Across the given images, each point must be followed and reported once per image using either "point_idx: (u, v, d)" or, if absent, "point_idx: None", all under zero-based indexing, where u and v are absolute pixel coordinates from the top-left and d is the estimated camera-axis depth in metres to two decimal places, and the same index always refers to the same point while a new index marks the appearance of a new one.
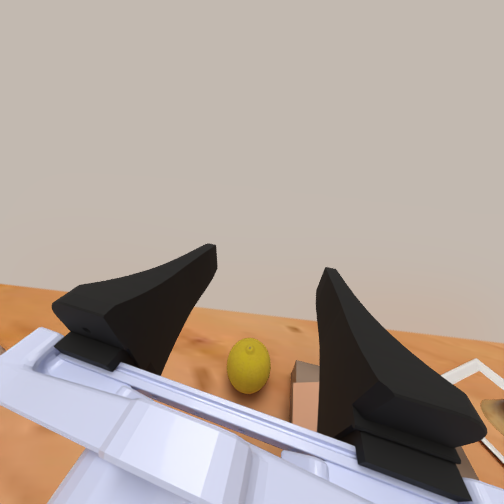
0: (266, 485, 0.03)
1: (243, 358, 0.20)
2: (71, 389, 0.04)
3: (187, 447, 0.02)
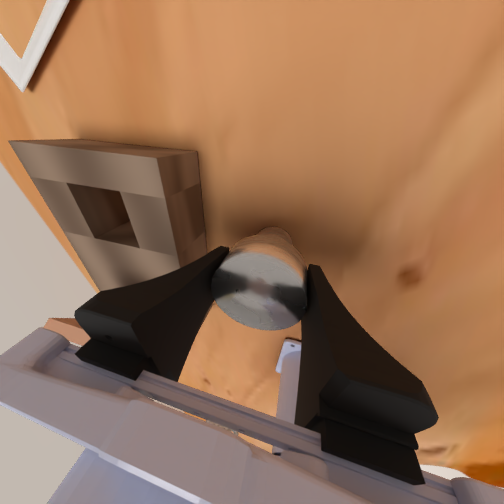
0: (266, 485, 0.03)
1: None
2: (71, 389, 0.04)
3: (187, 447, 0.02)
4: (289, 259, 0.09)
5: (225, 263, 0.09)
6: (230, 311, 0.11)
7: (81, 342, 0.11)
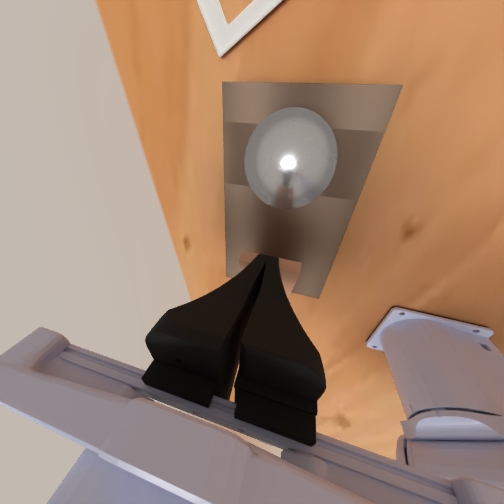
0: (266, 485, 0.03)
1: None
2: (71, 389, 0.04)
3: (187, 447, 0.02)
4: None
5: (261, 122, 0.10)
6: (260, 190, 0.11)
7: (286, 269, 0.11)
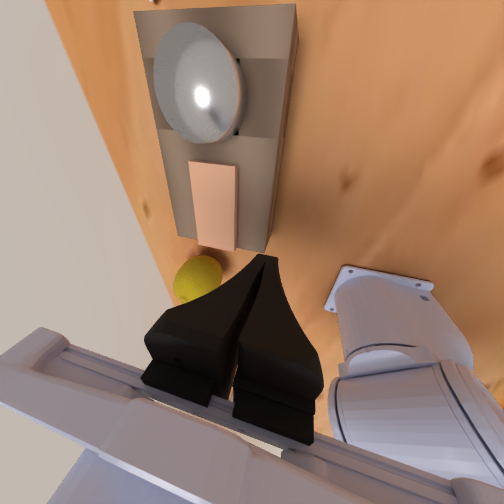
0: (266, 485, 0.03)
1: None
2: (71, 389, 0.04)
3: (187, 447, 0.02)
4: None
5: (161, 44, 0.10)
6: (176, 123, 0.12)
7: (225, 165, 0.14)
